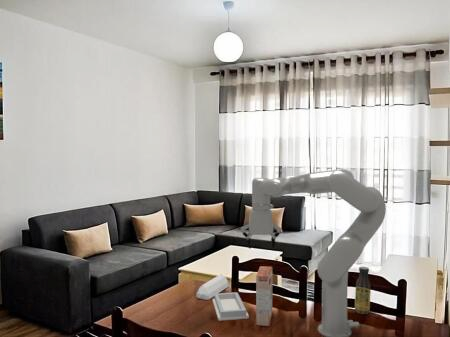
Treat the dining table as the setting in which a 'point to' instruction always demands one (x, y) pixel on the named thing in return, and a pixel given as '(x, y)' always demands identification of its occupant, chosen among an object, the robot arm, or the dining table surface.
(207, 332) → the dining table surface
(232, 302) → the grey rectangular tray
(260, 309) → the cracker box
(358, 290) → the sauce bottle
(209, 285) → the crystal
